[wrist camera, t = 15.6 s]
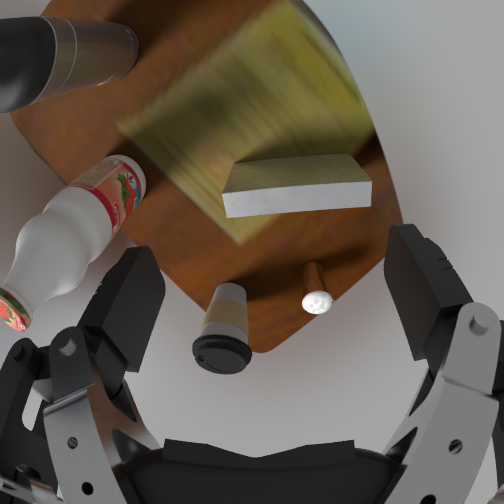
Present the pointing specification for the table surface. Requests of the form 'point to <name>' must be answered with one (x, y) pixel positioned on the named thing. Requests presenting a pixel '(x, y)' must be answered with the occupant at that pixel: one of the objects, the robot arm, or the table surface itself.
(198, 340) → the coffee cup
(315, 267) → the milkshake
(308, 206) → the panel
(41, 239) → the fruit juice
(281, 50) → the table surface
